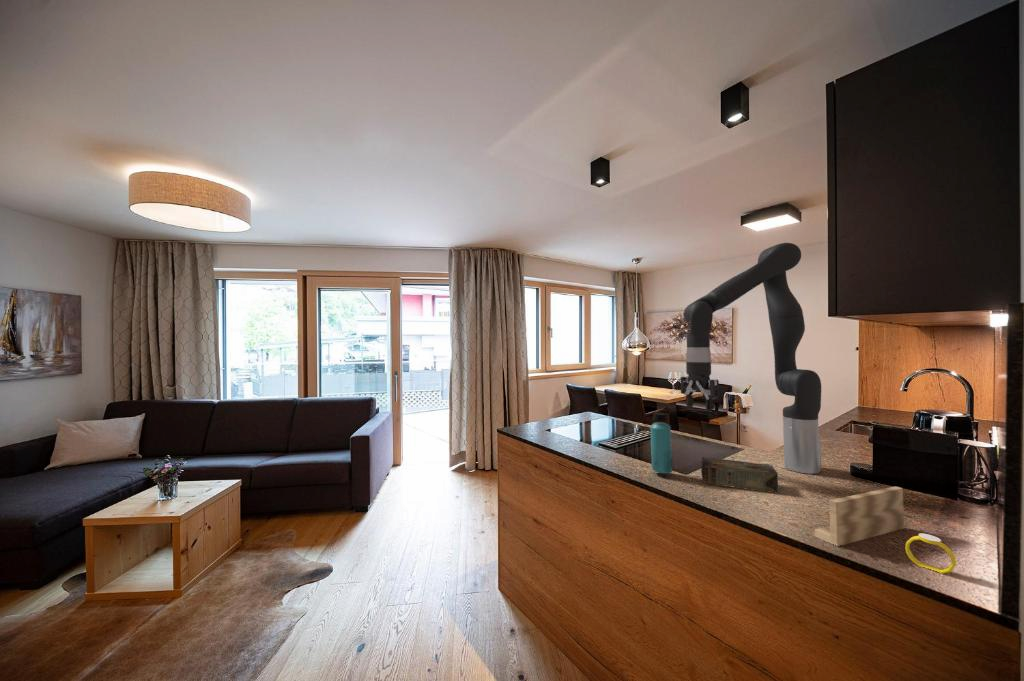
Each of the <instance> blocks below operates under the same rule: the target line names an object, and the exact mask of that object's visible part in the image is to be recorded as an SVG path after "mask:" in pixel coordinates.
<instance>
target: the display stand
mask: <svg viewBox="0 0 1024 681" xmlns="http://www.w3.org/2000/svg"><path fill="white" fill-rule="evenodd" d="M903 491H904V488H903V487H900V486H891V487H886V488H881V489H877V490H872V491H867V492H863V493H859V494H858V493H857V494H853V495H848V496H844V497H839V498H834V499H829V500H828V501H829V502H828V507H829V508H828V509H829V525H828V526H827V525H826V526H823V527H820V528H815V529H814V537H816V538H818V539H820V540H822V541H825V542H827V543H828V542H829V544H831V545H833V544H834V545H833V546H835V545H836V546H835V547H840V545H841V546H845V545H848V544H852V543H856V542H860V541H863V540H867V539H870V538H874V537H877V536H882V535H886V534H889V533H892V532H895V531H901V530H904V529H905V518H904V517H905V515H904V514H905V513H904V492H903Z"/></svg>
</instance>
